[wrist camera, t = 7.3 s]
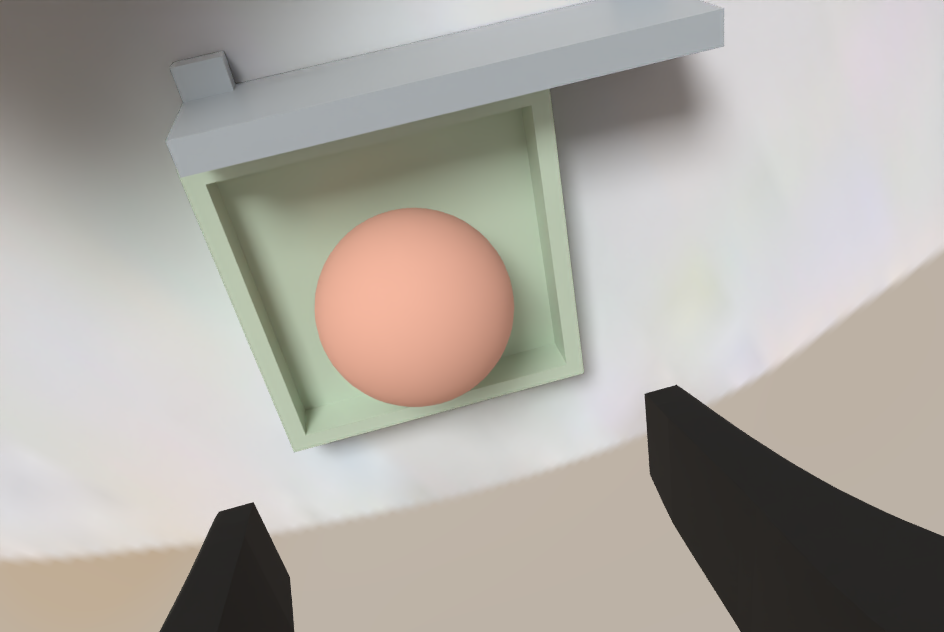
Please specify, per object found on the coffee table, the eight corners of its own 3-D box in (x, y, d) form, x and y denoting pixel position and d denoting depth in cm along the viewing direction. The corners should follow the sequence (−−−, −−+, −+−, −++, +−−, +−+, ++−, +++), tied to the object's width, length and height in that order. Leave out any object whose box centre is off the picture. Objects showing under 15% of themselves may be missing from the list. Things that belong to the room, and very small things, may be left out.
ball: (472, 159, 20) (526, 237, 16) (497, 314, 23) (550, 415, 18) (286, 204, 19) (292, 297, 15) (335, 357, 22) (352, 472, 18)
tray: (530, 64, 19) (548, 80, 18) (567, 345, 24) (584, 373, 23) (184, 147, 19) (175, 170, 17) (293, 418, 24) (294, 452, 22)
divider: (656, -49, 18) (724, -32, 16) (660, 49, 20) (723, 82, 17) (173, 62, 18) (148, 102, 15) (210, 158, 19) (194, 212, 16)
